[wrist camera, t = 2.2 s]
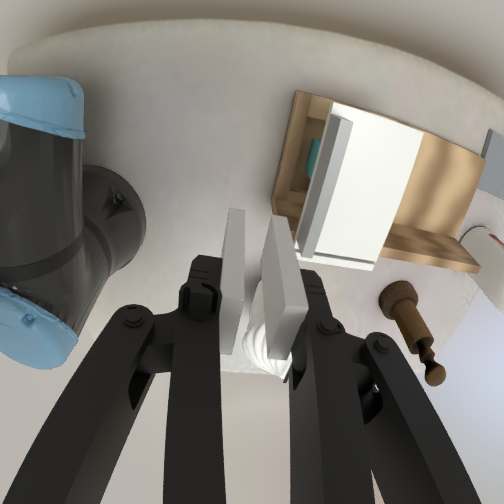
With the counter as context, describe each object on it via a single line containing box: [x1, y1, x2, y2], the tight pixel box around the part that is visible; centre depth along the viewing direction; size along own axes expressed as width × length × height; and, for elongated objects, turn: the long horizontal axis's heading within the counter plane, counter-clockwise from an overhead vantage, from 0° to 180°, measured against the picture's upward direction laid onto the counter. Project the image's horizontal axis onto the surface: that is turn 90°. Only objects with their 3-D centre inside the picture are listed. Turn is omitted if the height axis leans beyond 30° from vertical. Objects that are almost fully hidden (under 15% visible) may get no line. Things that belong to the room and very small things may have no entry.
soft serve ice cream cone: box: [242, 279, 292, 379], centre depth 39 cm, size 8×8×16 cm
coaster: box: [477, 129, 504, 200], centre depth 35 cm, size 9×9×1 cm
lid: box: [293, 101, 424, 271], centre depth 29 cm, size 9×15×11 cm, turn 169°
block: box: [305, 138, 321, 180], centre depth 32 cm, size 4×4×8 cm
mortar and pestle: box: [379, 281, 446, 386], centre depth 40 cm, size 7×6×18 cm
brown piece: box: [271, 91, 486, 274], centre depth 33 cm, size 28×14×10 cm, turn 79°
